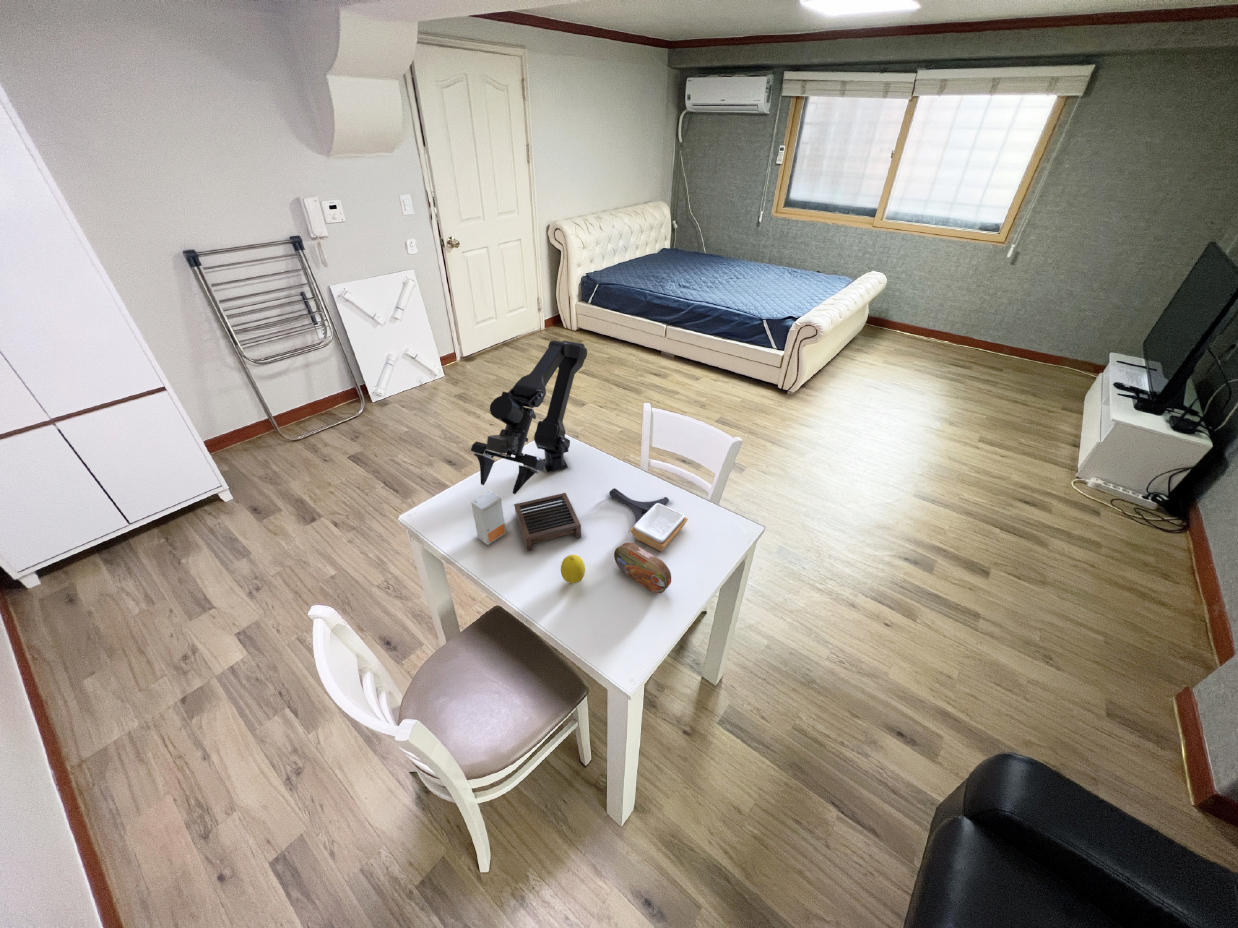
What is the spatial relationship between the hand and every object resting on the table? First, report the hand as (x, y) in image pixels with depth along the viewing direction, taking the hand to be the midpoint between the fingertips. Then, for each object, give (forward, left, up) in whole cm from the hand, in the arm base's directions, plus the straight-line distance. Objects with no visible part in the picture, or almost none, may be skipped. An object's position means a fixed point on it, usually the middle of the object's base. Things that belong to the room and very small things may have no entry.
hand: (497, 489), depth 122 cm
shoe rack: (+5, +11, -11) cm, 16 cm away
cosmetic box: (+4, -3, -12) cm, 13 cm away
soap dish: (+18, +37, -12) cm, 42 cm away
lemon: (+25, +12, -12) cm, 30 cm away
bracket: (+5, +35, -12) cm, 37 cm away
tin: (+30, +27, -12) cm, 42 cm away
